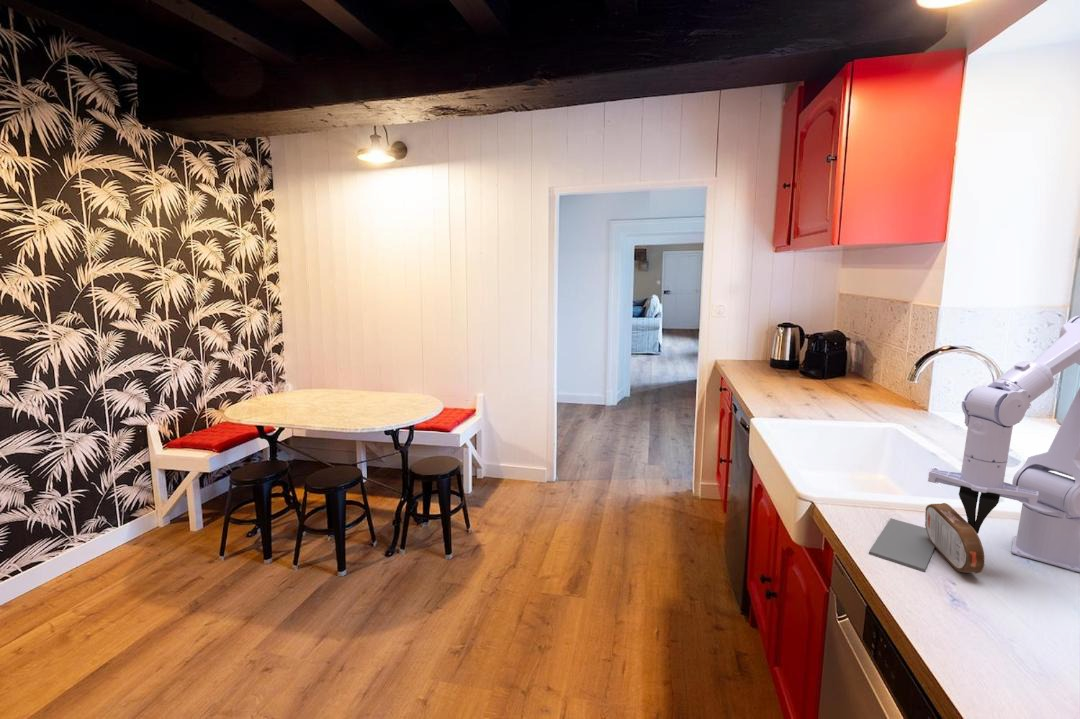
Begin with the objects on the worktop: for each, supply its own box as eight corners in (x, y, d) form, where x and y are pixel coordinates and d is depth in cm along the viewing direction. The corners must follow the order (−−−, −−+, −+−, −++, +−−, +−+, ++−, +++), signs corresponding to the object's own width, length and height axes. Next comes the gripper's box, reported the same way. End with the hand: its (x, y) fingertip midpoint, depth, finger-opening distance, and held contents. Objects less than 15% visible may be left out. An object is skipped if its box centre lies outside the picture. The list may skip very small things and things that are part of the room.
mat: (940, 534, 105) (940, 532, 105) (924, 571, 92) (924, 569, 92) (890, 520, 111) (890, 518, 111) (868, 553, 98) (869, 551, 98)
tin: (983, 583, 89) (989, 538, 87) (962, 582, 89) (967, 537, 88) (938, 535, 103) (942, 495, 101) (919, 534, 104) (923, 494, 102)
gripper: (929, 452, 93) (919, 524, 95) (1042, 474, 83) (1028, 554, 85) (935, 442, 98) (926, 511, 100) (1043, 462, 88) (1029, 538, 90)
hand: (973, 530), depth 93 cm, fingers closed
